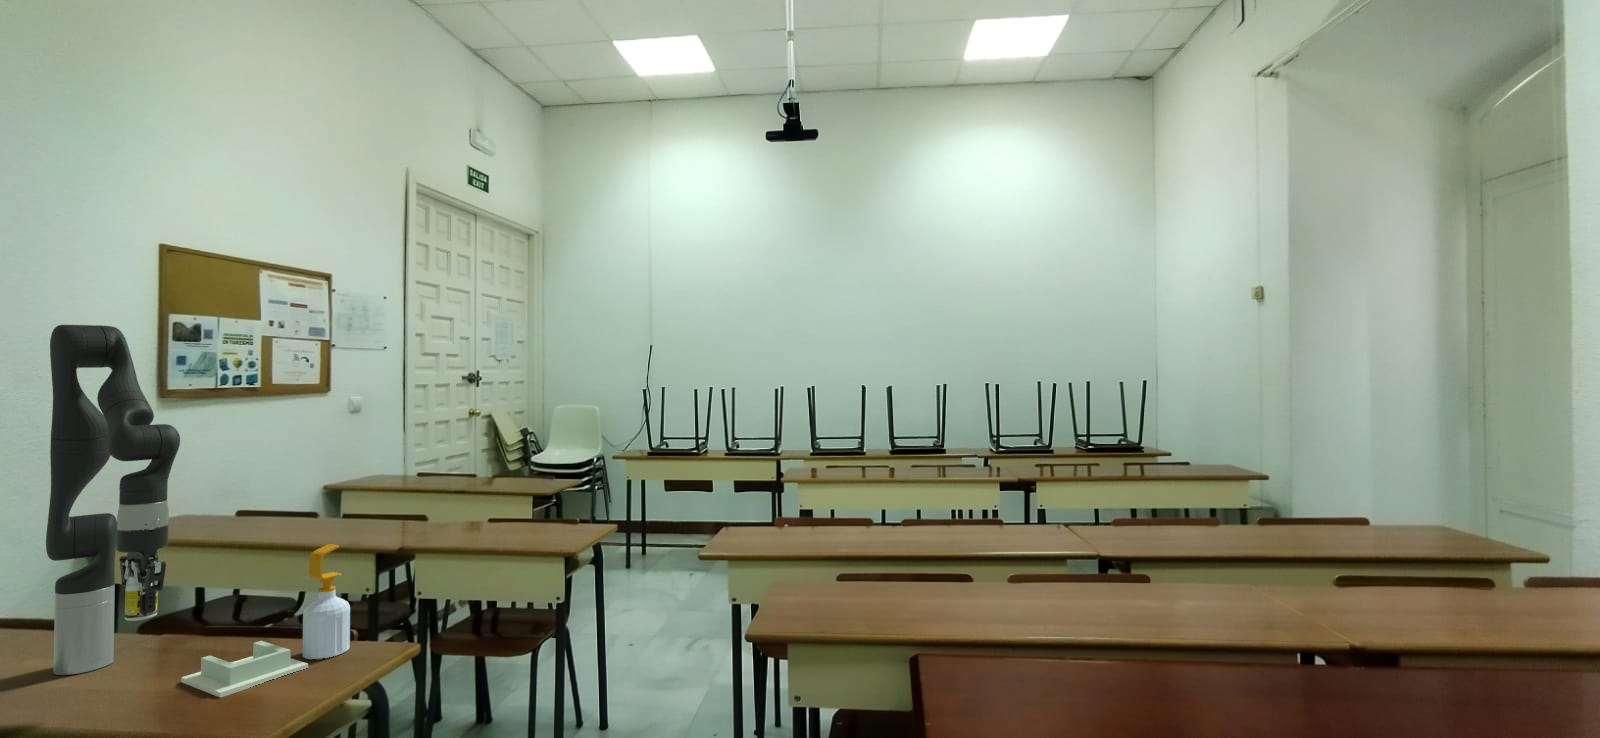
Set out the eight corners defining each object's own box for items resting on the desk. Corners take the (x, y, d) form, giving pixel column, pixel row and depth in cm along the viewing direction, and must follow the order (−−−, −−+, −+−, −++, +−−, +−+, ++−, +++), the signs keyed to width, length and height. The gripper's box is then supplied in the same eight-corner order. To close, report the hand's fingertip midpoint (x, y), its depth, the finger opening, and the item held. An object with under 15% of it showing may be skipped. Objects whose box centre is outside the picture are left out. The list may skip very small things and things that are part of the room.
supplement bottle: (136, 622, 136) (137, 578, 136) (118, 620, 137) (118, 577, 137) (163, 614, 141) (164, 572, 141) (145, 612, 142) (146, 571, 142)
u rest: (181, 682, 145) (181, 660, 145) (268, 655, 159) (269, 635, 160) (220, 697, 138) (220, 674, 138) (308, 668, 152) (308, 647, 152)
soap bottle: (358, 648, 163) (359, 543, 164) (317, 663, 155) (319, 551, 156) (334, 643, 167) (335, 540, 168) (293, 656, 159) (294, 548, 159)
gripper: (102, 524, 139) (100, 610, 139) (134, 532, 133) (133, 622, 132) (150, 518, 146) (149, 600, 146) (183, 524, 139) (182, 610, 139)
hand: (141, 610), depth 139 cm, fingers closed on supplement bottle, 4 cm apart
